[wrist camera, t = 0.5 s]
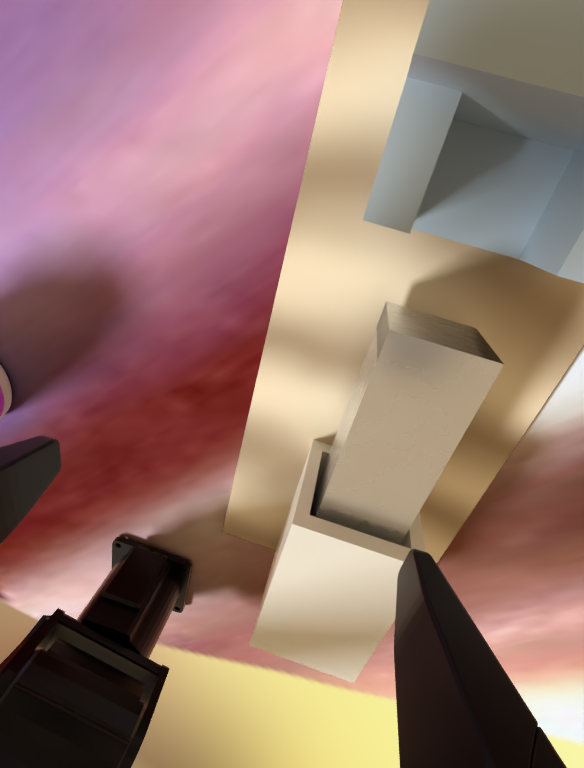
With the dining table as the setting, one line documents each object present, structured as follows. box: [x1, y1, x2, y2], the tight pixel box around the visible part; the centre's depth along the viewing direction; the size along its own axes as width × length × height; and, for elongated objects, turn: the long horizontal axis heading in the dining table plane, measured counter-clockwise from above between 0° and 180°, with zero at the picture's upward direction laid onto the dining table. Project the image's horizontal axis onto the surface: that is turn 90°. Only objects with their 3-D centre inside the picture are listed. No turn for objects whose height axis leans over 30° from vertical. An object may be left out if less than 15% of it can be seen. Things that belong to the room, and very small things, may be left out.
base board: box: [222, 0, 584, 564], centre depth 20 cm, size 29×14×1 cm, turn 166°
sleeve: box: [249, 440, 426, 683], centre depth 21 cm, size 10×6×6 cm, turn 166°
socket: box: [363, 0, 584, 283], centre depth 12 cm, size 6×8×6 cm
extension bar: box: [310, 301, 504, 545], centre depth 19 cm, size 17×4×4 cm, turn 166°
